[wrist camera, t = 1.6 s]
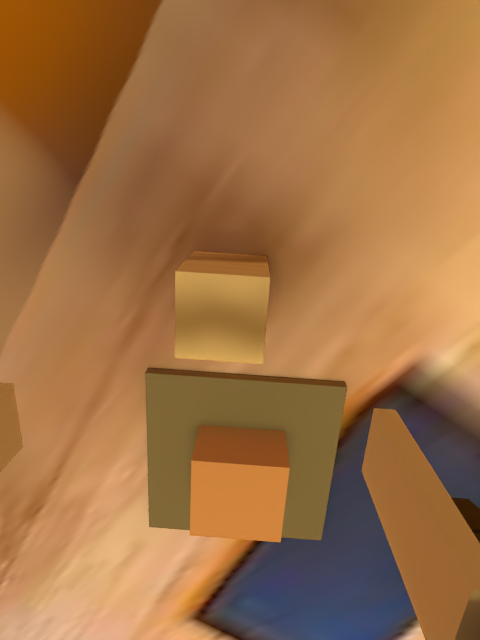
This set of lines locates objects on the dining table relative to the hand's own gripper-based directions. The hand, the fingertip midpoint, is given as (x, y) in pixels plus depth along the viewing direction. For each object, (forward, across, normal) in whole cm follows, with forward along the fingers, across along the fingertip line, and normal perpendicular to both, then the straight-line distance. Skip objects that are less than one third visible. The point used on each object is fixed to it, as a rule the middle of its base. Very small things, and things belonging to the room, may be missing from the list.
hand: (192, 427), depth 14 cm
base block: (+19, +2, -17) cm, 25 cm away
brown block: (+20, 0, 0) cm, 20 cm away
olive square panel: (+20, +2, -17) cm, 26 cm away
